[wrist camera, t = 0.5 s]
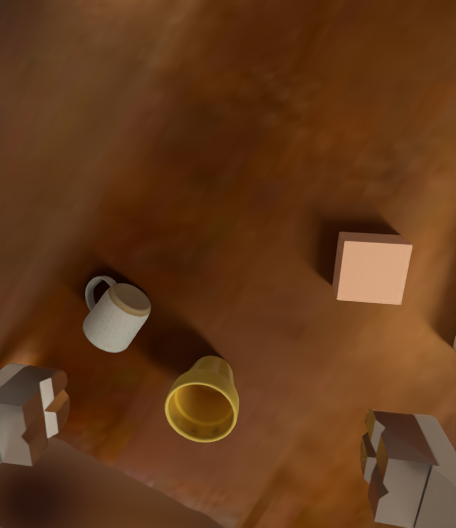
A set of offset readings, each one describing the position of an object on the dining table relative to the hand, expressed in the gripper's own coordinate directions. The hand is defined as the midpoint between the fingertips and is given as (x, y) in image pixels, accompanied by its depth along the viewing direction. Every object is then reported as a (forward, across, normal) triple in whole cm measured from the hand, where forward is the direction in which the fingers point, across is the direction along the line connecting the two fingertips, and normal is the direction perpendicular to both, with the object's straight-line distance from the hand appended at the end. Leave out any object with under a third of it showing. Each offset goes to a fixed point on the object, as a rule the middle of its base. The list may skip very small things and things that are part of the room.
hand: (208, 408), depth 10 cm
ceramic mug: (+43, +22, +18) cm, 52 cm away
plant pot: (+43, +7, +29) cm, 53 cm away
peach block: (+43, -14, +8) cm, 46 cm away
